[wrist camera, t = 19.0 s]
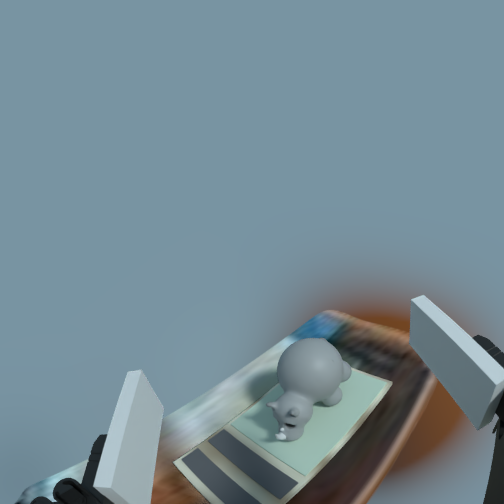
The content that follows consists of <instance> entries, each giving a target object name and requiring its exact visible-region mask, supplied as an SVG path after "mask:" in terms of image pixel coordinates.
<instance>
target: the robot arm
mask: <svg viewBox="0 0 504 504" xmlns="http://www.w3.org/2000/svg"><path fill="white" fill-rule="evenodd" d="M409 344H410V345H411V346H412V348H413V349H414V350H415V351H416V353H417V354H418V355H419V356H420V357H421V359H422V360H423V361H424V362H425V363H426V365H427V366H428V367H429V368H430V370H431V371H432V372H433V373H434V375H435V376H436V377H437V378H438V380H439V381H440V382H441V383H442V385H443V386H444V387H445V388H446V390H447V391H448V392H449V394H450V395H451V396H452V397H453V399H454V400H455V401H456V403H457V404H458V405H459V407H460V408H461V409H462V410H463V412H464V413H465V414H466V416H467V417H468V418H469V420H470V421H471V422H472V424H473V425H474V427H475V428H476V429H477V430H479V429H481V428H482V427H484V426H486V425H487V424H489V423H490V422H491V421H492V419H493V417H494V414H495V413H496V414H497V415H498V417H499V419H498V421H497V423H496V425H495V427H494V429H493V432H492V433H495V431H496V429H497V432H496V440H495V447H494V454H493V460H492V465H491V471H490V476H489V481H488V485H487V490H486V494H485V498H484V502H483V504H504V353H503V352H501V350H500V349H499V348H497V347H495V345H494V344H493V343H492V342H491V341H490V340H489V339H487V338H485V337H482V336H480V335H477V336H475V337H473V338H471V337H470V336H469V335H468V334H467V333H466V332H465V331H464V330H463V329H462V328H460V327H459V326H458V325H457V324H456V323H455V322H454V321H453V320H452V319H451V318H449V317H448V316H447V315H446V314H445V313H444V312H443V311H442V310H440V309H439V308H438V307H437V306H436V305H435V304H433V303H432V302H431V301H430V300H429V299H428V298H427V297H425V296H424V295H422V296H420V297H417V298H414V299H412V300H411V317H410V340H409ZM163 411H164V407H163V406H162V404H161V402H160V401H159V399H158V398H157V396H156V394H155V392H154V391H153V389H152V387H151V385H150V384H149V382H148V380H147V378H146V377H145V375H144V373H143V371H142V370H137V371H130V372H128V373H127V376H126V379H125V382H124V385H123V388H122V391H121V394H120V397H119V400H118V403H117V406H116V409H115V412H114V415H113V418H112V422H111V425H110V428H109V432H108V434H106V435H100V436H99V437H98V438H97V440H96V441H95V442H94V444H93V447H92V450H91V455H90V456H89V462H88V463H87V466H86V470H85V473H84V476H83V480H82V483H81V484H80V483H79V482H77V481H76V480H75V479H72V478H65V479H62V480H60V481H59V482H58V483H57V484H56V485H55V487H54V490H53V497H54V499H55V500H56V501H58V502H51V501H50V500H49V499H48V498H46V497H37V498H35V499H34V500H33V501H32V502H31V504H150V502H151V494H152V486H153V478H154V470H155V463H156V456H157V449H158V442H159V436H160V429H161V423H162V417H163Z"/></svg>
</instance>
